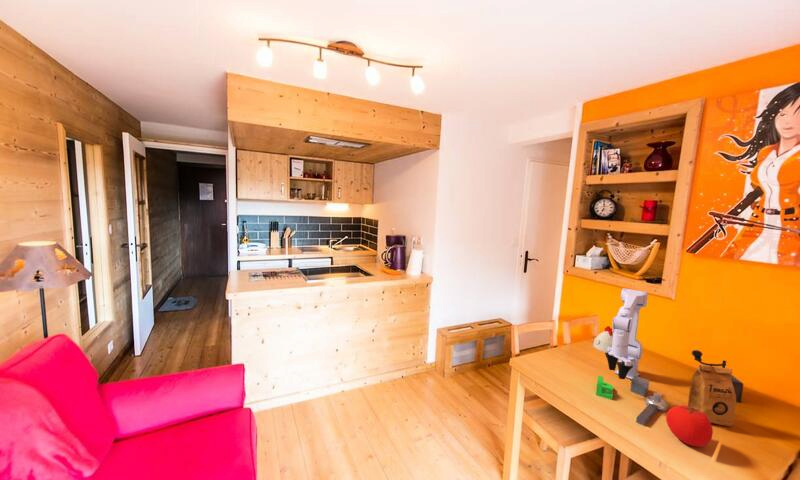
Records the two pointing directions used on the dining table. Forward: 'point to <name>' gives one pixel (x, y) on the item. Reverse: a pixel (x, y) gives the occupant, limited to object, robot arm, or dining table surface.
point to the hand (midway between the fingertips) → (616, 374)
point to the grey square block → (639, 386)
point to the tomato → (689, 425)
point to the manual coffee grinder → (736, 383)
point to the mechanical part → (604, 389)
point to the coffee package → (713, 394)
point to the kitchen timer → (604, 340)
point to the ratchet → (651, 408)
